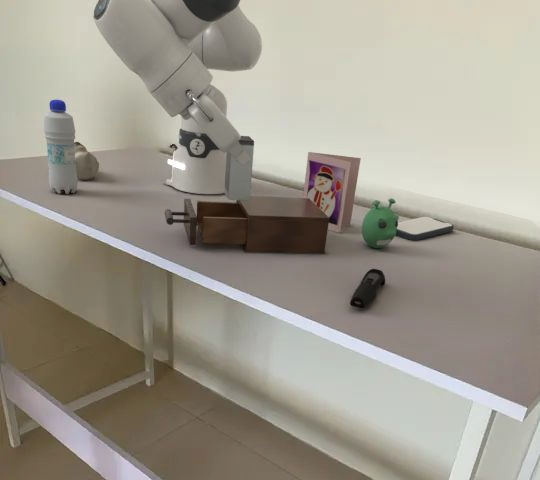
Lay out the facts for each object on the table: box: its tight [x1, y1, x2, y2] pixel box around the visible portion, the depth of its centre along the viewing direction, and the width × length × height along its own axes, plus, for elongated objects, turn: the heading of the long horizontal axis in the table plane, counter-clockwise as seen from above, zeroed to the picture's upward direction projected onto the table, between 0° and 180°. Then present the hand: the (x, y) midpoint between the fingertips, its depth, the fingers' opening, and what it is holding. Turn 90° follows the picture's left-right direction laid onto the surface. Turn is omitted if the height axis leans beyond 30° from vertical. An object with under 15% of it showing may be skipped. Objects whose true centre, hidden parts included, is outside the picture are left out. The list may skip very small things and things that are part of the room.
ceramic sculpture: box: [74, 141, 100, 181], centre depth 154 cm, size 11×9×15 cm
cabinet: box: [235, 195, 329, 254], centre depth 121 cm, size 16×15×7 cm
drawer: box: [164, 198, 248, 246], centre depth 118 cm, size 19×13×5 cm
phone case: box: [396, 216, 455, 241], centre depth 138 cm, size 9×2×16 cm
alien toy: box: [361, 197, 400, 249], centre depth 122 cm, size 7×8×10 cm
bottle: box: [43, 99, 79, 195], centre depth 136 cm, size 7×7×20 cm
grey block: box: [224, 135, 255, 201], centre depth 99 cm, size 4×4×10 cm
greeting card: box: [302, 151, 362, 234], centre depth 133 cm, size 11×7×15 cm, turn 47°
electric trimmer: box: [349, 268, 386, 309], centre depth 99 cm, size 4×16×3 cm, turn 159°
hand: (243, 158), depth 99 cm, fingers closed on grey block, 4 cm apart
